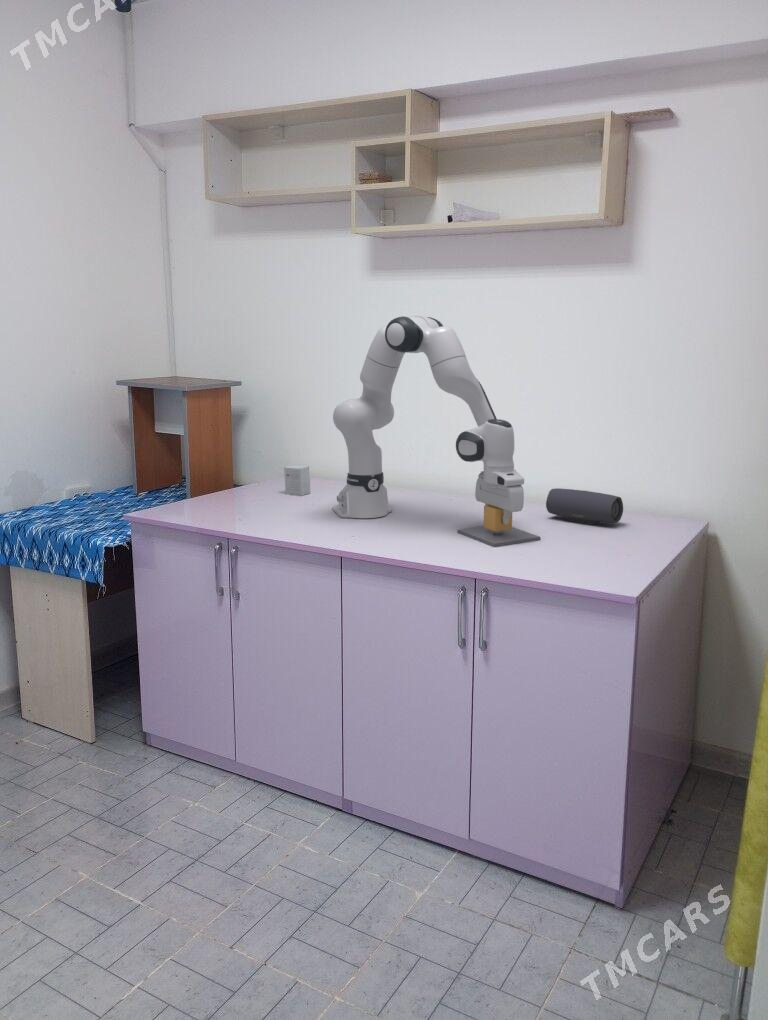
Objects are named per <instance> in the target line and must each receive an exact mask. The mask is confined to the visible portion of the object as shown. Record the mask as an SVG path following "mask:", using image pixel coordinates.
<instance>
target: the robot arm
mask: <svg viewBox="0 0 768 1020" xmlns="http://www.w3.org/2000/svg"><path fill="white" fill-rule="evenodd" d="M406 353H408V354H419V353H424V354H425V356H426V357H427V359H428V362H429V363H428V364H429V367H430V370H431V372H432V376H433V379H434V381H435V383H436V385H437V386H438V388H439V389H441V390H442V391H443V392H445V393H448V394H451V395H453V396H456V397H457V398H459V399H461V400H463V401H464V402H465V403H466V404H467V405H468V407H469V409H470V411H471V414H472V416H473V418H474V420H475V422H476V425H477V427H474V428H471V429H468V430H465V431H462V432H461V433H460V434H459V435H458V436H457V438H456V440H455V441H456V442H455V450H456V451H455V452H456V454H457V455H458V457H459V458H460V459H461V461H464V462H467V463H468V462H469V463H474V462H483V471H480V473H479V474H478V475H477V477H478V478H477V479H476V483H475V490H474V491H475V493H474V497H475V500H476V501H477V502H479V503H483V504H484V506H488V505H491V506H494V507H498V508H501V509H503V513H504V516H503V518H501V523H503V524H508V523H509V517H510V515H511V513H512V514H513V513H517V512H521V511H522V510H523V509H524V502H525V501H524V498H525V496H524V495H525V490H524V488H523V485H524V484H525V478H524V477H523V476H522V475H521V474H520V473H519V472H517V469H515V462H514V452H515V432H514V428H513V426H512V425H513V424H511V423H510V422H509V421H507V420H504V419H497V416H496V414H495V412H494V409H493V407H492V406H491V403H490V400H489V398H488V396H487V393H486V391H485V389H484V387H483V385H482V384H481V382H480V381H479V379H478V378H477V376H476V375H475V374H474V372H473V370H472V368H471V366H470V364H469V361H468V359H467V356H466V353H465V350H464V348H463V345H462V343H461V341H460V339H459V336H458V335H457V333H456V332H455V330H454V329H453V328H452V327H450V326H445V325H443V323H442V322H441V321H440V320H438V319H436V318H433V317H430V316H427V317H426V316H422V315H414V316H403V315H402V316H399V317H395V318H393V319H392V320H390V321H389V322H388V323H387V325H383V326H381V327H380V328H379V329H378V330H377V332H376V334H375V335H374V337H373V340H372V341H371V343H370V346H369V348H368V351H367V354H366V356H365V358H364V359H365V360H364V362H363V366H362V368H361V371H360V374H359V378H360V382H361V383H362V393H361V396H360V397H358V398H353V399H348V400H344V401H343V402H340V403H338V405H336V406H335V408H334V410H333V413H332V414H333V415H332V421H333V424H334V425H335V427H336V429H337V430H339V432H340V433H341V434H342V436H343V439H344V441H345V444H346V450H347V456H348V473H346V484H345V486H344V487H343V488H342V489H340V492H339V493H338V494H337V495H336V503H338V504H335V505H332V510H333V512H334V513H335V514H337V515H338V516H339V517H340V518H352V519H353V518H354V519H377V518H381V517H385V516H387V515H388V514H389V513H391V512H392V511H393V509H392V507H389V498H388V490H387V487H386V486H385V485H384V481H385V479H384V477H385V476H384V472H383V464H382V463H383V455H382V454H383V451H382V448H381V447H380V446H379V445H378V444H377V442H376V441H375V437H374V434H373V433H374V432H373V431H374V430H380V429H382V428H384V427H386V426H387V425H389V424H390V423H391V422H392V421H393V419H394V417H395V408H394V406H393V403H392V391H393V387H394V383H395V380H396V378H397V374H398V372H399V369H400V367H401V363H402V361H403V358H404V356H405V354H406Z"/></svg>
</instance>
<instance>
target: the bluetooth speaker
mask: <svg viewBox="0 0 768 1020" xmlns="http://www.w3.org/2000/svg"><path fill="white" fill-rule="evenodd" d="M545 506H546V507H545V509H546V511H547V512H548V513H549V514H551V515H556V516H560V517H564V518H567V521H570V522H575V523H582V524H589V525H599V524H600V523H605V524H606V523H607V524H616V523H618V522H619V521H621V519H622V518H623V514H624V503H623V499H622V497H620V496H617V495H613V494H608V493H603V492H597V491H596V492H595V491H590V490H584V489H583V490H581V489H573V488H572V489H570V488H551V489H550V490H549V491H548V494H547V498H546V501H545Z"/></svg>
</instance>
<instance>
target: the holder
mask: <svg viewBox="0 0 768 1020" xmlns="http://www.w3.org/2000/svg"><path fill="white" fill-rule="evenodd" d="M456 531H457V533H458V534H460V535H461V536H466V537H468V538H470V539H473V540H476V541H478V542H480V543H483V544H486V545H487V546H490V547H493V548H498V547H504V546H510V545H517V544H523V543H529V542H530V543H531V542H536V541H541V536H540V535H538V534H534V533H531V532H528V531H525V530H522V529H519V528H516V527H514V526H512V529H508V530H501V531H493V530H490V529H487V528H484V525H479V526H473V527H472V526H471V527H465V528H458V529H456Z"/></svg>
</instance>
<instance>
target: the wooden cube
mask: <svg viewBox="0 0 768 1020" xmlns="http://www.w3.org/2000/svg"><path fill="white" fill-rule="evenodd" d="M503 516H504V513H503V509H501V508H498V507H494V506H491V505H488V506H485V505H483V526H484V528H487V529H490V530H493V531H501V530H508V529H512V527H513V512H512V513H511V515H510V517H509V523H508V524H503V523H501V518H503Z"/></svg>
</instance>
